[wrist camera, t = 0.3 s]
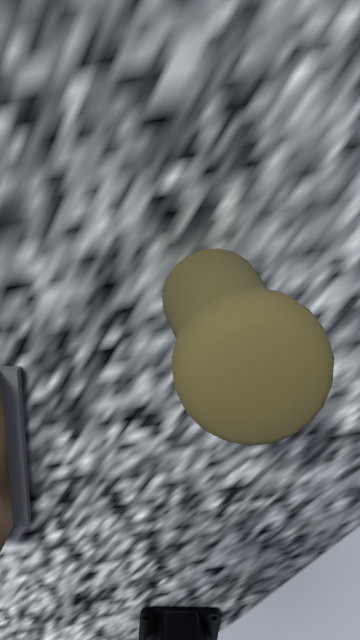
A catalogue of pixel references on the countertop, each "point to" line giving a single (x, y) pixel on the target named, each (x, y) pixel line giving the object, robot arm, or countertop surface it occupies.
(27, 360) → the countertop surface
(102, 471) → the countertop surface
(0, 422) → the tan wooden plank
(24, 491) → the mat
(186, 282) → the olive brown pear
